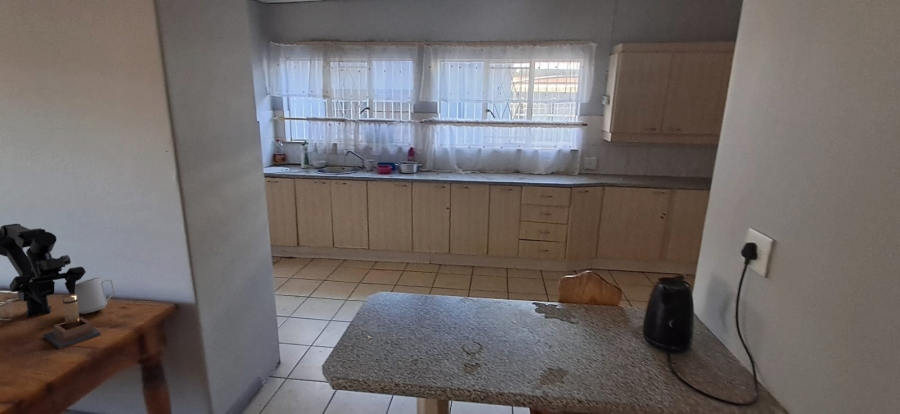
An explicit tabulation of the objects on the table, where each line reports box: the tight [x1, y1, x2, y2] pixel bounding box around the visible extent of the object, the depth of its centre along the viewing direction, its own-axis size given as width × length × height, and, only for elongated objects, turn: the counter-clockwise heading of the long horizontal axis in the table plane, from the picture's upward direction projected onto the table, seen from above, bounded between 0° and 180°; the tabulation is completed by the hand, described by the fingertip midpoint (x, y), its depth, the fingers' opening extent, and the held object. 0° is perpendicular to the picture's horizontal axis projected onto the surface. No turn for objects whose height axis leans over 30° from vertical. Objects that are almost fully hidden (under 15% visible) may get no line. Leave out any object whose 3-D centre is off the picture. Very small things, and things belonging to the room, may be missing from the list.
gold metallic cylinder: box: [62, 294, 81, 330], centre depth 143 cm, size 4×4×13 cm
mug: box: [75, 277, 116, 315], centre depth 160 cm, size 12×9×11 cm
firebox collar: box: [42, 316, 101, 349], centre depth 143 cm, size 12×11×4 cm
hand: (58, 299), depth 146 cm, fingers open, 8 cm apart
